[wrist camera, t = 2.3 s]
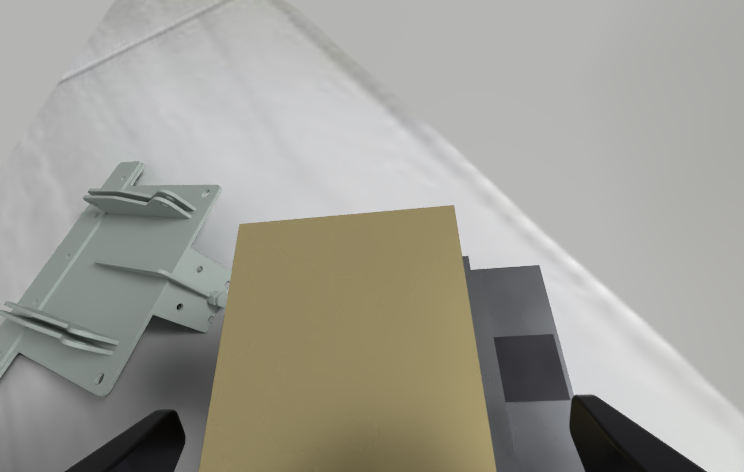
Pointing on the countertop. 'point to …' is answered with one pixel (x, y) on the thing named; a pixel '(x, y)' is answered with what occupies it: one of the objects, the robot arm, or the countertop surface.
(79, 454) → the countertop surface
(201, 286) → the metal bracket
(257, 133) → the countertop surface
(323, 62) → the countertop surface
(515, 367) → the dark grey stepped fixture
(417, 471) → the tan note paper block
